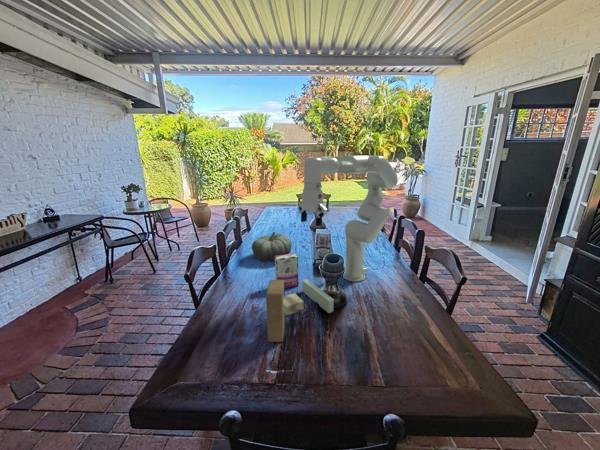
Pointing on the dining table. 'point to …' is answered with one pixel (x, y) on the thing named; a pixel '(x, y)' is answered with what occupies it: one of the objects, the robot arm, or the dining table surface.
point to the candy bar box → (287, 269)
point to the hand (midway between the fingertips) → (311, 223)
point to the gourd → (271, 246)
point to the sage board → (318, 295)
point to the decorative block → (275, 310)
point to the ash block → (292, 304)
